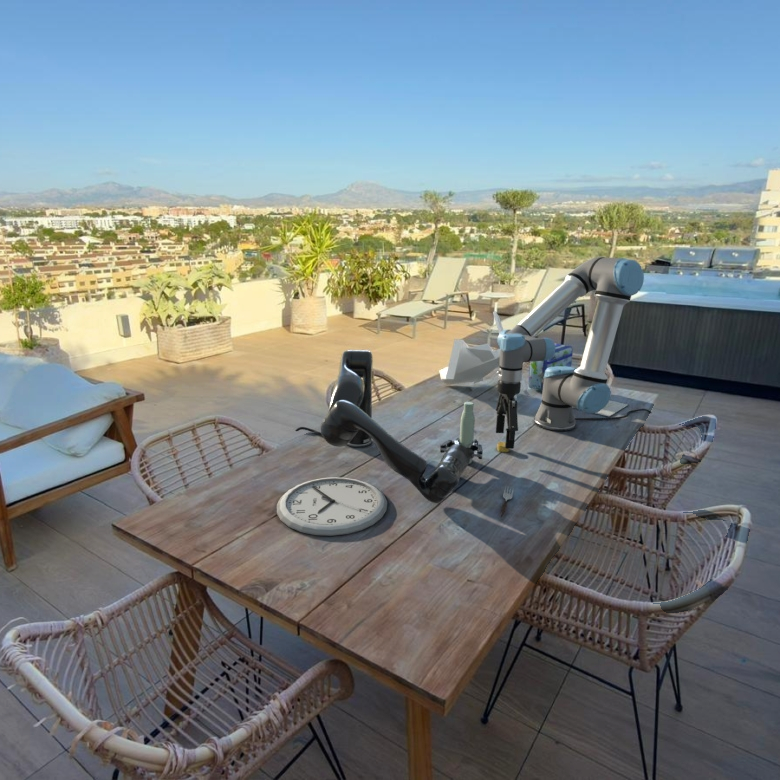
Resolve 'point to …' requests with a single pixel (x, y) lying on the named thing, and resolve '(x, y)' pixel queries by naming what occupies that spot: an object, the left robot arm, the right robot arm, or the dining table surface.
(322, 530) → the wall clock
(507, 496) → the fork
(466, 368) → the white plastic object
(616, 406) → the invitation card
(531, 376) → the lunch box
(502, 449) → the cap
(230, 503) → the dining table surface
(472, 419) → the bottle
